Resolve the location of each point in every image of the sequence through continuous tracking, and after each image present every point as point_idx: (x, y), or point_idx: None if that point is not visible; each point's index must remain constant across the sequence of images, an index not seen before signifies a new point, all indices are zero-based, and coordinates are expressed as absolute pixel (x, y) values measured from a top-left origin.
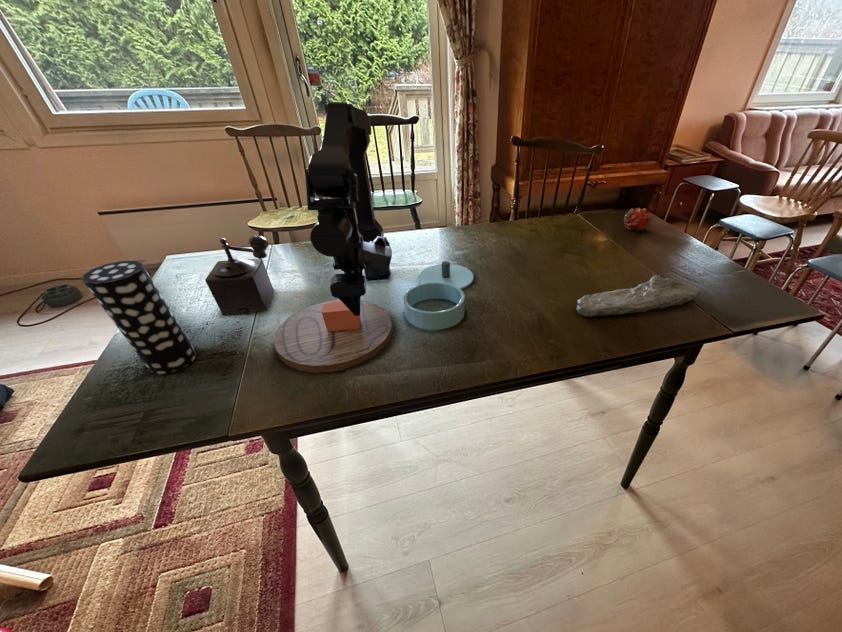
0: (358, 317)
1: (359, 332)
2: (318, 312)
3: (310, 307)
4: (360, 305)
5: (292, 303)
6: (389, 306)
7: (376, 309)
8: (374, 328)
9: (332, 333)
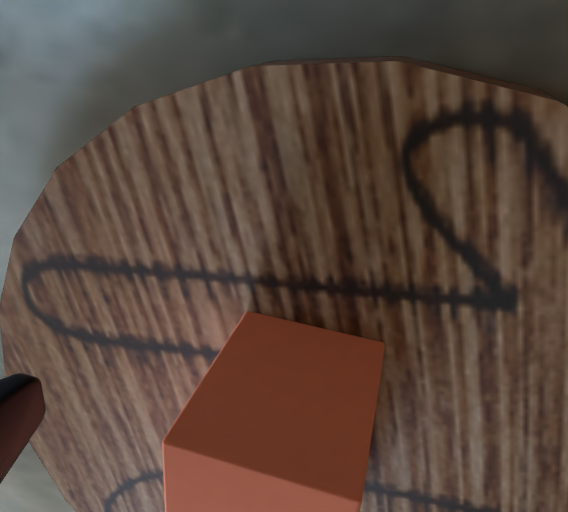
0: (321, 378)
1: (439, 355)
2: (131, 490)
3: (80, 505)
4: (68, 274)
5: (18, 507)
6: (39, 34)
7: (131, 169)
8: (427, 238)
9: (377, 492)
